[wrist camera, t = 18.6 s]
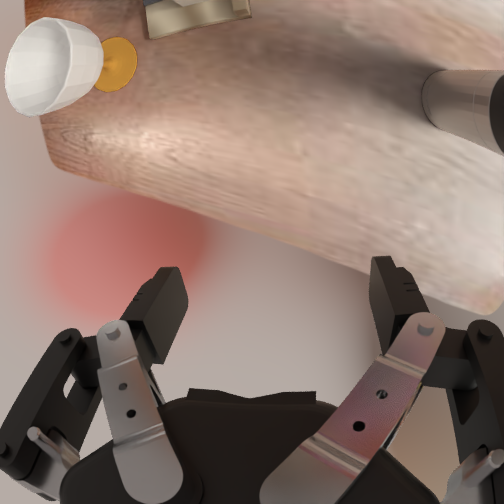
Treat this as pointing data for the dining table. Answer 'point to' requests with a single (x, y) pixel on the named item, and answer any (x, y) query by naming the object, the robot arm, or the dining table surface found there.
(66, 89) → the cup
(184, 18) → the beige desk organizer
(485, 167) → the dining table surface
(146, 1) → the bookend
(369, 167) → the dining table surface
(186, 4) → the book
